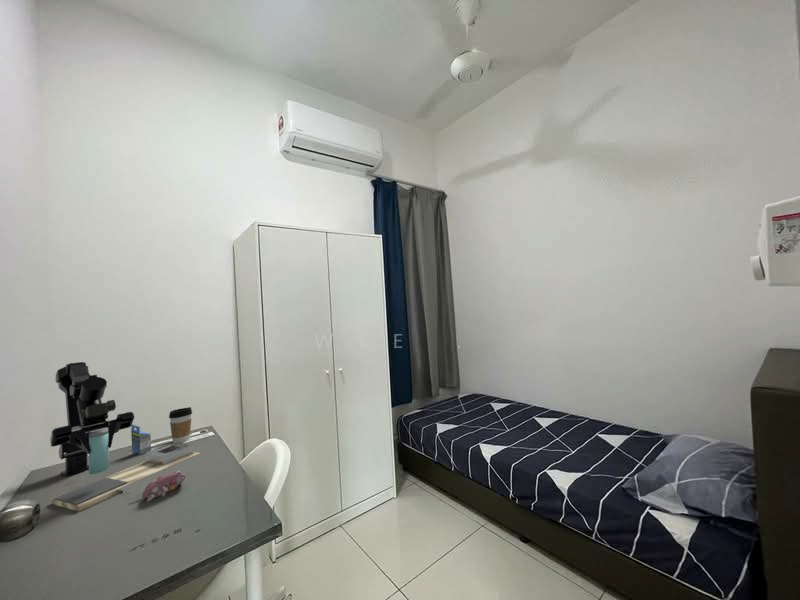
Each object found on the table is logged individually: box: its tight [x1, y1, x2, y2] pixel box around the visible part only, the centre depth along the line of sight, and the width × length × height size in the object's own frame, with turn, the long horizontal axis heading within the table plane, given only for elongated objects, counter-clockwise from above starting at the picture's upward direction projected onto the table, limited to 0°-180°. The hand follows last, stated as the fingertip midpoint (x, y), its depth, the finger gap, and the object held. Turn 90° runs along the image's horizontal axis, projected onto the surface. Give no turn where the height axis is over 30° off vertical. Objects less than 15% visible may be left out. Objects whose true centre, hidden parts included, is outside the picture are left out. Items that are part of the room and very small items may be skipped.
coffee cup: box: [168, 406, 193, 444], centre depth 134 cm, size 8×8×15 cm
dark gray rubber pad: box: [53, 477, 127, 505], centre depth 94 cm, size 12×12×1 cm
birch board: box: [51, 451, 200, 513], centre depth 104 cm, size 15×35×2 cm, turn 159°
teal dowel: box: [88, 428, 110, 475], centre depth 96 cm, size 4×4×12 cm
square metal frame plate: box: [143, 442, 195, 466], centre depth 116 cm, size 11×11×3 cm
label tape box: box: [130, 423, 152, 455], centre depth 125 cm, size 9×4×12 cm, turn 59°
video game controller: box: [142, 469, 186, 499], centre depth 92 cm, size 10×5×7 cm, turn 143°
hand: (99, 449), depth 95 cm, fingers closed on teal dowel, 4 cm apart
